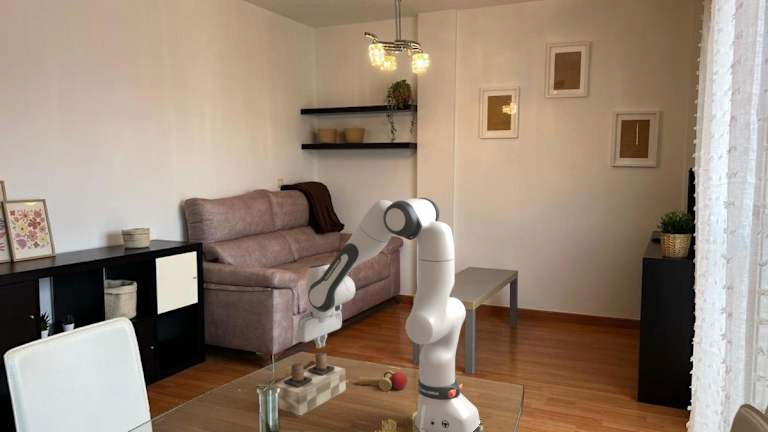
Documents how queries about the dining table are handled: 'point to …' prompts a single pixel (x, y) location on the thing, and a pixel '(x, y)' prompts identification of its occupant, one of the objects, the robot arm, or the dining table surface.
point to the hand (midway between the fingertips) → (320, 347)
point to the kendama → (386, 380)
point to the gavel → (311, 363)
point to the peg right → (321, 361)
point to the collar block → (311, 389)
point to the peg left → (297, 372)
